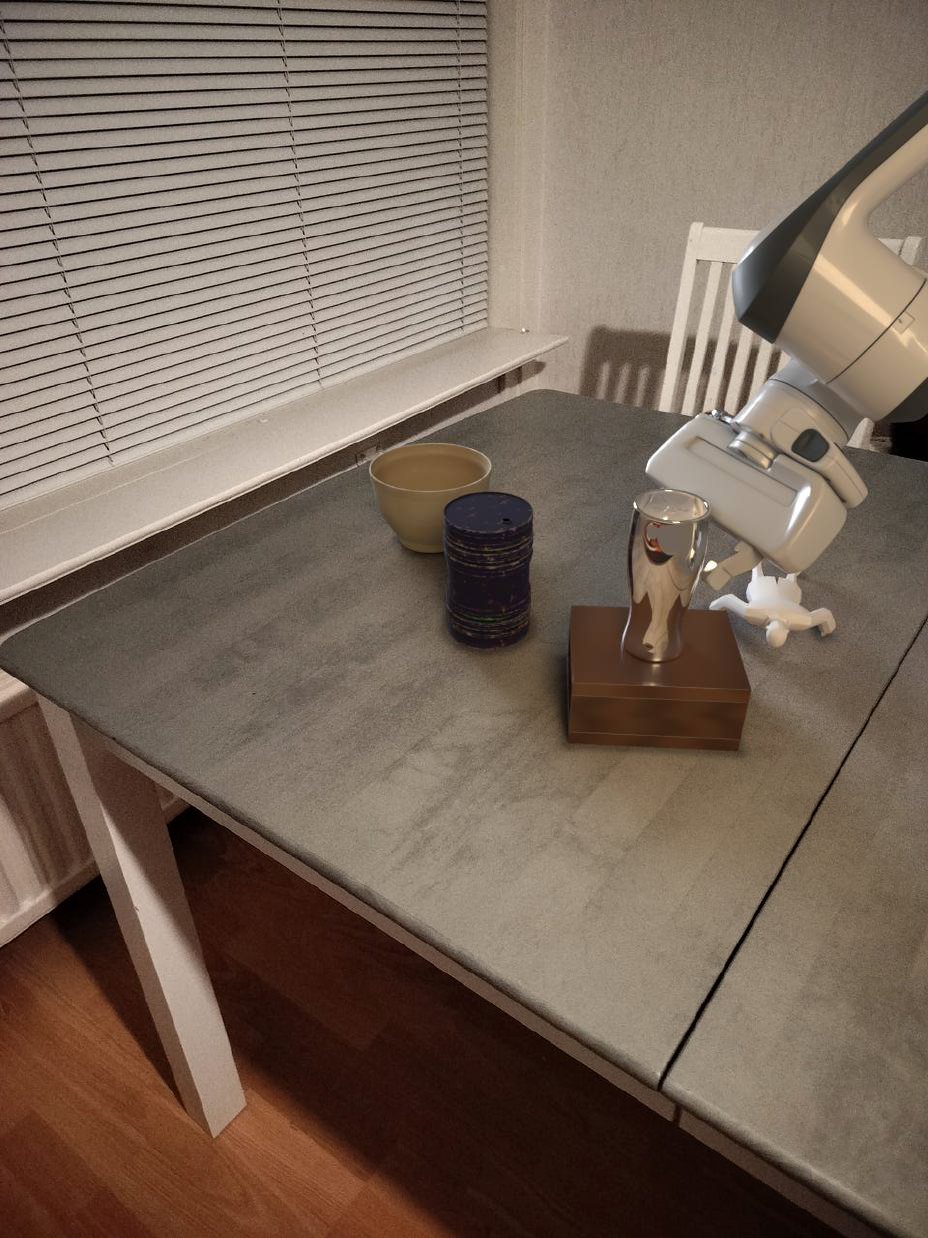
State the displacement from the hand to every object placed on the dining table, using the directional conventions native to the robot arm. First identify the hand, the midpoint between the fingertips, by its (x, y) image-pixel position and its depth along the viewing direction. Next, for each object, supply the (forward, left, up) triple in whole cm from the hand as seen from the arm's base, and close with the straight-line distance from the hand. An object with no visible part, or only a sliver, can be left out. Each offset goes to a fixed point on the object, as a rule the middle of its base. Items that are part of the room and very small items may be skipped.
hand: (675, 559), depth 75 cm
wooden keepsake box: (+1, 0, -17) cm, 17 cm away
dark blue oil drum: (+18, -13, -17) cm, 28 cm away
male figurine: (-15, -16, -17) cm, 27 cm away
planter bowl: (+27, -34, -17) cm, 46 cm away
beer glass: (+1, 0, -10) cm, 10 cm away
